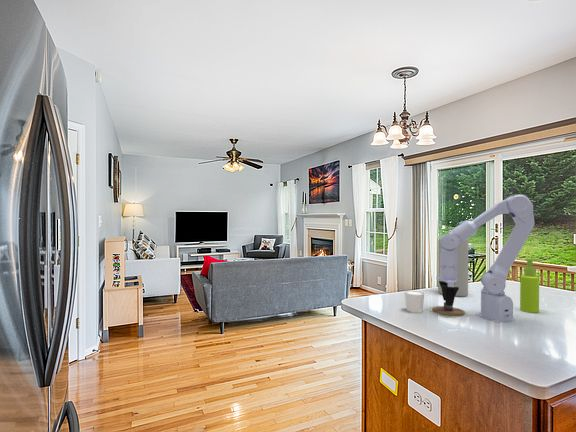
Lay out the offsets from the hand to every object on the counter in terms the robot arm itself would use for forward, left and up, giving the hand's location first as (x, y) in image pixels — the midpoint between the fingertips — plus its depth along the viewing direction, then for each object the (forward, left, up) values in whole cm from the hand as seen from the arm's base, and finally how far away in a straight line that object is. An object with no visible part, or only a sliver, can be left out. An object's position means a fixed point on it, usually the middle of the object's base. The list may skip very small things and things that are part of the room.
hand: (448, 302), depth 126 cm
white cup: (+5, +11, -4) cm, 13 cm away
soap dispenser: (-6, -33, -4) cm, 34 cm away
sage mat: (0, 0, -4) cm, 4 cm away
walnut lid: (0, 0, -3) cm, 3 cm away
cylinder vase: (+25, -25, -4) cm, 36 cm away
